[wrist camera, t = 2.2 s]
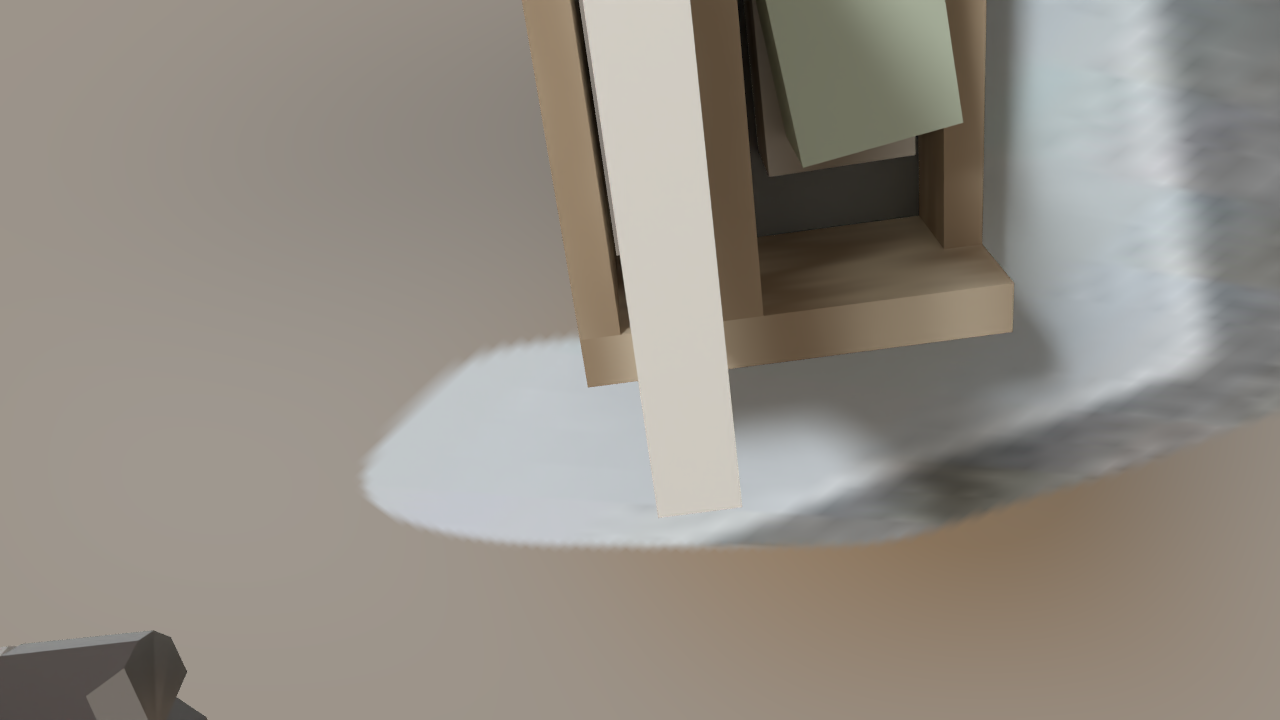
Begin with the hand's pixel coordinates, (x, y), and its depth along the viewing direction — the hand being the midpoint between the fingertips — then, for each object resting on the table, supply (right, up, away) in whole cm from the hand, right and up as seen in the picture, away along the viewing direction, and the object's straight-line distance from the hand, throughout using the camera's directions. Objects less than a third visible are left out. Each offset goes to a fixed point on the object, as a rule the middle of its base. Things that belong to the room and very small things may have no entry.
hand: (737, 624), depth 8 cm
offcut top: (+5, +13, +23) cm, 27 cm away
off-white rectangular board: (-1, +14, +26) cm, 29 cm away
